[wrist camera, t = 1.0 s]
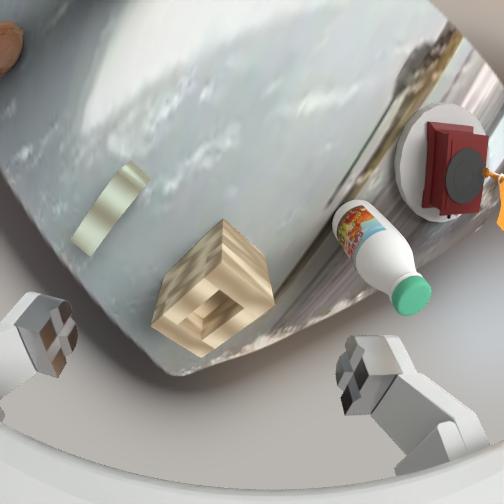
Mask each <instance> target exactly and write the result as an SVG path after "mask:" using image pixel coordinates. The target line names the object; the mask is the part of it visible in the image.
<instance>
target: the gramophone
mask: <svg viewBox="0 0 504 504" xmlns="http://www.w3.org/2000/svg"><path fill="white" fill-rule="evenodd" d="M488 139H489V136H487V135H485V132H484V130H483V128H482V126H481V125H480V123H479V121H478V119H477V118H476V117H475V116H474V115H472V114H471V113H470V112H469V111H468V110H467V109H465V108H463V107H460V106H457V105H455V104H451V103H446V102H445V103H432V104H430V105H428V106H426V107H424V108H422V109H420V110H418V111H417V112H416V113H415V114H414V116H413V117H412V118H411V119H410V120H409V121H408V122H407V124H406V125H405V127H404V129H403V131H402V134H401V136H400V138H399V140H398V142H397V148H396V154H395V160H394V167H395V179H396V184H397V186H398V189H399V192H400V194H401V197H402V199H403V200H404V201H405V202H406V204H407V205H408V206H409V207H410V208H411V210H412V211H414V212H415V213H416V214H417V215H419V216H421V217H423V218H425V219H426V220H428V221H433V222H446V221H449V220H452V219H455V218H457V217H459V216H460V215H461V214H465V213H476V212H479V208H480V203H481V197H482V191H483V186H484V184H485V181H486V178H487V177H488V176H490V177H492V178H493V179H495V180H496V181H497V182H498V183H499V187H500V196H501V210H500V213H499V217H498V221H497V224H498V225H499V226H500V227H501V228H502V229H503V231H504V174H500V175H499V174H497V173H495V172H493V171H491V170H489V169H488V168H489V147H488ZM502 176H503V177H502Z"/></svg>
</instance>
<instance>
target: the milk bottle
mask: <svg viewBox="0 0 504 504" xmlns="http://www.w3.org/2000/svg"><path fill="white" fill-rule="evenodd" d="M332 229H333V233H334V235H335V237H336V239H337V240H338V242H339V243H340V245H341V246H342V248H343V250H344V251H345V253H346V254H347V256H348V258H349V259H350V261H351V262H352V264H353V265H354V267H355V269H356V270H357V271H358V273H359V274H360V276H361V277H362V278H363V279H364V280H365V281H366V282H367V283H368V284H369V285H371V286H372V287H374V288H376V289H378V290H380V291H383V292H385V293H386V294H388V295H389V299H390V301H391V303H392V304H393V306H394V308H395V309H396V311H397V312H398V313H399V314H400V315H403V316H410V315H413V314H415V313H417V312H419V311H420V310H421V309H423V308H424V307H425V306H426V304H427V303H428V301H429V299H430V297H431V288H430V286H429V284H428V283H427V282H426V280H425V279H424V278H423V277H422V275H421V274H419V273H417V272H416V269H415V265H414V258H413V253H412V250H411V248H410V246H409V244H408V242H407V241H406V239H405V238H404V237H403V236H402V235H401V234H400V232H399V231H398V230H397V229H396V228H395V227H394V226H393V225H392V224H391V223H390V222H389V221H388V220H387V219H386V218H385V217H384V216H383V215H382V214H381V213H380V212H379V211H378V210H377V209H376V208H375V207H373V206H372V205H371V204H370V203H368V202H367V201H364V200H351V201H349V202H346V203H345V204H343V205H342V206H341V207H340V208H339V209H338V210H337V211H336V213H335V215H334V218H333V222H332Z"/></svg>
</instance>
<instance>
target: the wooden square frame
mask: <svg viewBox="0 0 504 504" xmlns="http://www.w3.org/2000/svg"><path fill="white" fill-rule="evenodd" d="M274 305H275V303H274V298H273V293H272V288H271V283H270V278H269V273H268V268H267V263H266V258H265V255H264V254H263V253H262V252H260V251H259V250H258V249H257V248H256V247H255V246H254V245H253V244H251V243H250V242H249V241H248V240H247V239H246V238H245V237H244V236H242V235H241V234H240V233H239V232H238V231H237V230H236V229H235V228H233V227H232V226H231V225H230V224H229V223H228V222H227V221H226V220H224V219H222V220H221V221H220V222H219V223H218V224H217V225H216V226H215V227H214V228H213V229H212V230H211V231H210V232H208V233H207V234H206V235H205V236H204V237H203V238H202V239H201V240H200V241H199V242H198V243H197V244H196V245H195V246H194V247H193V248H192V249H191V250H190V251H189V252H188V253H187V254H186V255H185V256H184V257H183V258H182V259H181V260H180V261H179V262H178V263H177V264H176V265H175V266H173V267H172V268H171V269H170V270H169V271H168V272H167V273H166V274H165V276H164V279H163V282H162V286H161V289H160V293H159V296H158V300H157V303H156V307H155V311H154V314H153V318H152V322H151V327H152V328H154V329H155V330H157V331H159V332H160V333H162V334H163V335H165V336H166V337H168V338H169V339H171V340H173V341H174V342H176V343H177V344H179V345H181V346H182V347H184V348H186V349H187V350H189V351H191V352H192V353H194V354H196V355H197V356H199V357H201V358H202V357H204V356H205V355H206V354H208V353H209V352H211V351H212V350H214V349H215V348H217V347H218V346H219V345H221V344H222V343H224V342H225V341H226V340H228V339H229V338H231V337H232V336H233V335H235V334H236V333H238V332H239V331H240V330H242V329H243V328H245V327H246V326H247V325H249V324H250V323H251V322H253V321H254V320H255V319H257V318H258V317H260V316H261V315H262V314H264V313H265V312H266V311H268V310H269V309H270V308H272V307H273V306H274Z"/></svg>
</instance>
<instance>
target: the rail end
mask: <svg viewBox="0 0 504 504" xmlns="http://www.w3.org/2000/svg"><path fill="white" fill-rule="evenodd" d="M150 180H151V177H150V176H148V175H147V174H146V173H145V172H144V171H143V170H142V169H140V168H139V167H138V166H137V165H136V164H135V163H133V162H132V161H130V162H129V163H127V164H126V165H125V166H124V167H122V168H121V169H120V170H119V171H118V172H117V173H116V174H115V176H114V177H113V178H112V180H111V181H110V182H109V184H108V185H107V186H106V188H105V189H104V191H103V192H102V193H101V195H100V196H99V198H98V199H97V200H96V202H95V203H94V205H93V206H92V208H91V209H90V211H89V212H88V213H87V215H86V216H85V218H84V219H83V221H82V223H81V224H80V226H79V227H78V229H77V230H76V232H75V233H74V235H73V237H72V238H71V241H72V242H73V243H74V244H75V245H77V246H78V247H79V248H80V249H81V250H83V251H84V252H85V253H86V254H88V255H89V256H90V257H91V256H92V254H93V253H94V251H95V250H96V249H97V247H98V246H99V245H100V243H101V242H102V240H103V239H104V238H105V236H106V235H107V234H108V232H109V231H110V230H111V228H112V227H113V226H114V224H115V223H116V222H117V221H118V219H119V218H120V217H121V215H122V214H123V213H124V212H125V210H126V209H127V208H128V207H129V205H130V204H131V203H132V202H133V200H134V199H135V198H136V197H137V196H138V194H139V193H140V192H141V191H142V190H143V188H144V187H145V186H146V185H147V183H148V182H149V181H150Z"/></svg>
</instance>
